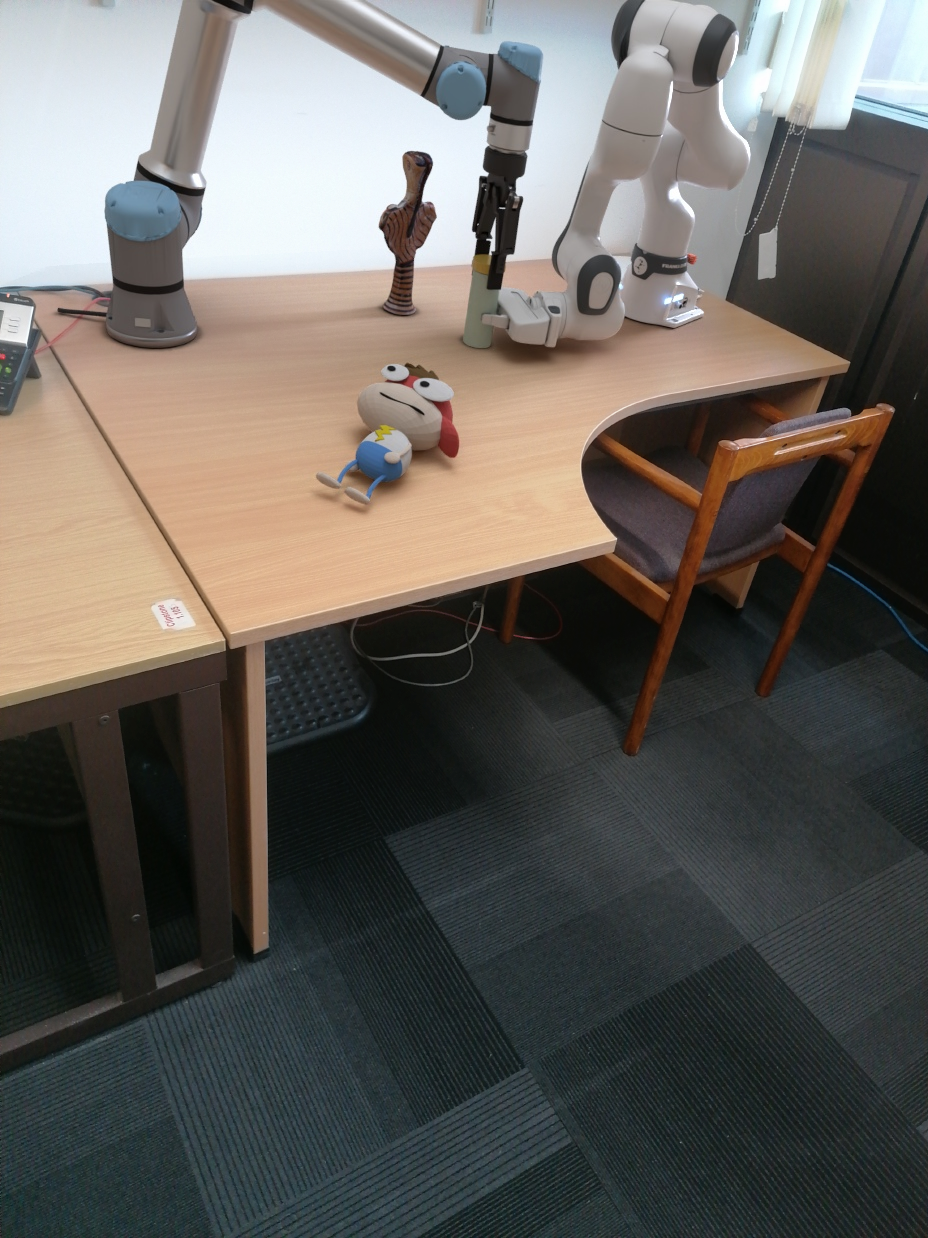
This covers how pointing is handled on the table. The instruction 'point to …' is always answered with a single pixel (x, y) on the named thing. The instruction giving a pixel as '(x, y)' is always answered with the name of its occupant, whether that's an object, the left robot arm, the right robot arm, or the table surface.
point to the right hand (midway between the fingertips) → (477, 311)
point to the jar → (479, 312)
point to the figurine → (407, 230)
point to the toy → (399, 425)
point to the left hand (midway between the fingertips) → (486, 281)
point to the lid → (482, 263)
